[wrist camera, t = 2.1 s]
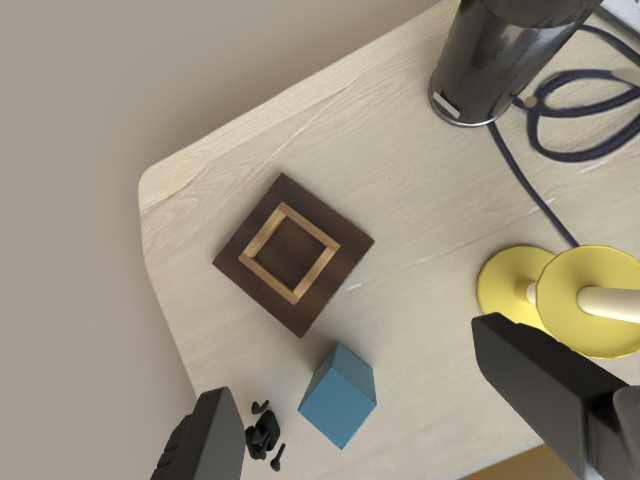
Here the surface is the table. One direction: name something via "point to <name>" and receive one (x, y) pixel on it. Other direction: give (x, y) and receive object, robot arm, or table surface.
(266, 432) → the wireless earbuds
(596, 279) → the candle
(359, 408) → the post block
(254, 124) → the table surface
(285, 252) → the square wooden socket base
